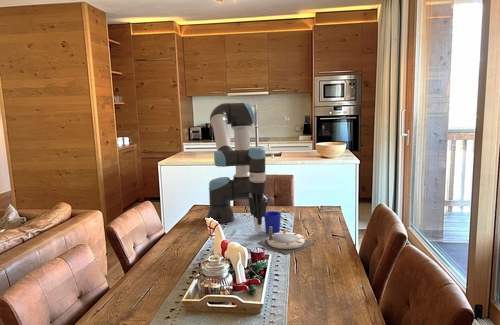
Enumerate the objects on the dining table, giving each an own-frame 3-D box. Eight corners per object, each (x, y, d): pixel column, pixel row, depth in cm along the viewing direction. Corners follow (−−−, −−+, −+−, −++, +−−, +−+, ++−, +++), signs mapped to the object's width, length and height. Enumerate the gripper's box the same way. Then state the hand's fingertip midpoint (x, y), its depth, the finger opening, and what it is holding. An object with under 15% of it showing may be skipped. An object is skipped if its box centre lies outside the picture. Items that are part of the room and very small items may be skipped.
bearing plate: (258, 243, 174) (258, 237, 173) (285, 234, 185) (285, 228, 185) (286, 254, 160) (286, 247, 160) (314, 244, 172) (314, 237, 171)
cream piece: (259, 241, 173) (259, 225, 172) (285, 233, 184) (285, 217, 183) (286, 252, 161) (286, 234, 159) (312, 242, 171) (312, 225, 170)
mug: (281, 228, 195) (281, 209, 193) (280, 236, 183) (280, 216, 181) (265, 227, 195) (265, 209, 194) (263, 235, 184) (263, 215, 182)
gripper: (242, 180, 175) (243, 229, 178) (260, 184, 165) (261, 235, 169) (254, 178, 180) (255, 225, 183) (273, 181, 170) (273, 232, 173)
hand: (258, 230), depth 176 cm, fingers closed
